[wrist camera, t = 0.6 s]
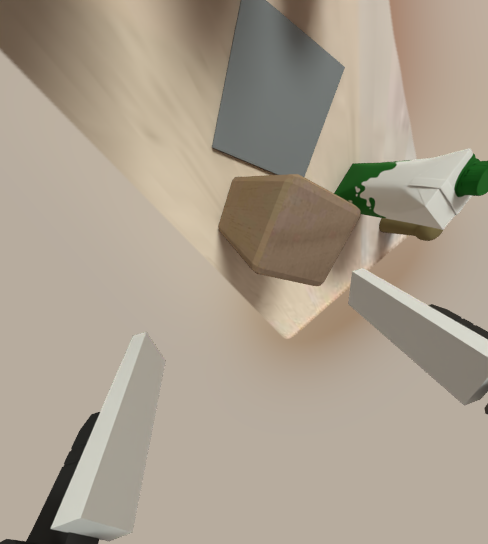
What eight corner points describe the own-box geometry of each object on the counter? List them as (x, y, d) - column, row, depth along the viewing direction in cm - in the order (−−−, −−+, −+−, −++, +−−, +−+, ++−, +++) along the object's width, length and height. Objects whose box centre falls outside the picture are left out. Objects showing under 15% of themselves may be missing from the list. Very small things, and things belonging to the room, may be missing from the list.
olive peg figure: (378, 235, 49) (425, 248, 40) (380, 214, 46) (431, 222, 37) (396, 227, 50) (446, 238, 41) (399, 205, 47) (454, 211, 38)
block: (260, 243, 39) (323, 290, 22) (215, 229, 35) (252, 276, 18) (278, 195, 36) (368, 209, 19) (232, 175, 32) (295, 168, 15)
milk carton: (374, 179, 41) (510, 179, 24) (349, 216, 44) (458, 239, 27) (352, 156, 37) (499, 136, 20) (326, 198, 40) (439, 211, 23)
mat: (243, -14, 23) (244, -18, 22) (342, 68, 30) (344, 67, 30) (211, 147, 29) (212, 147, 29) (300, 184, 36) (301, 184, 36)
